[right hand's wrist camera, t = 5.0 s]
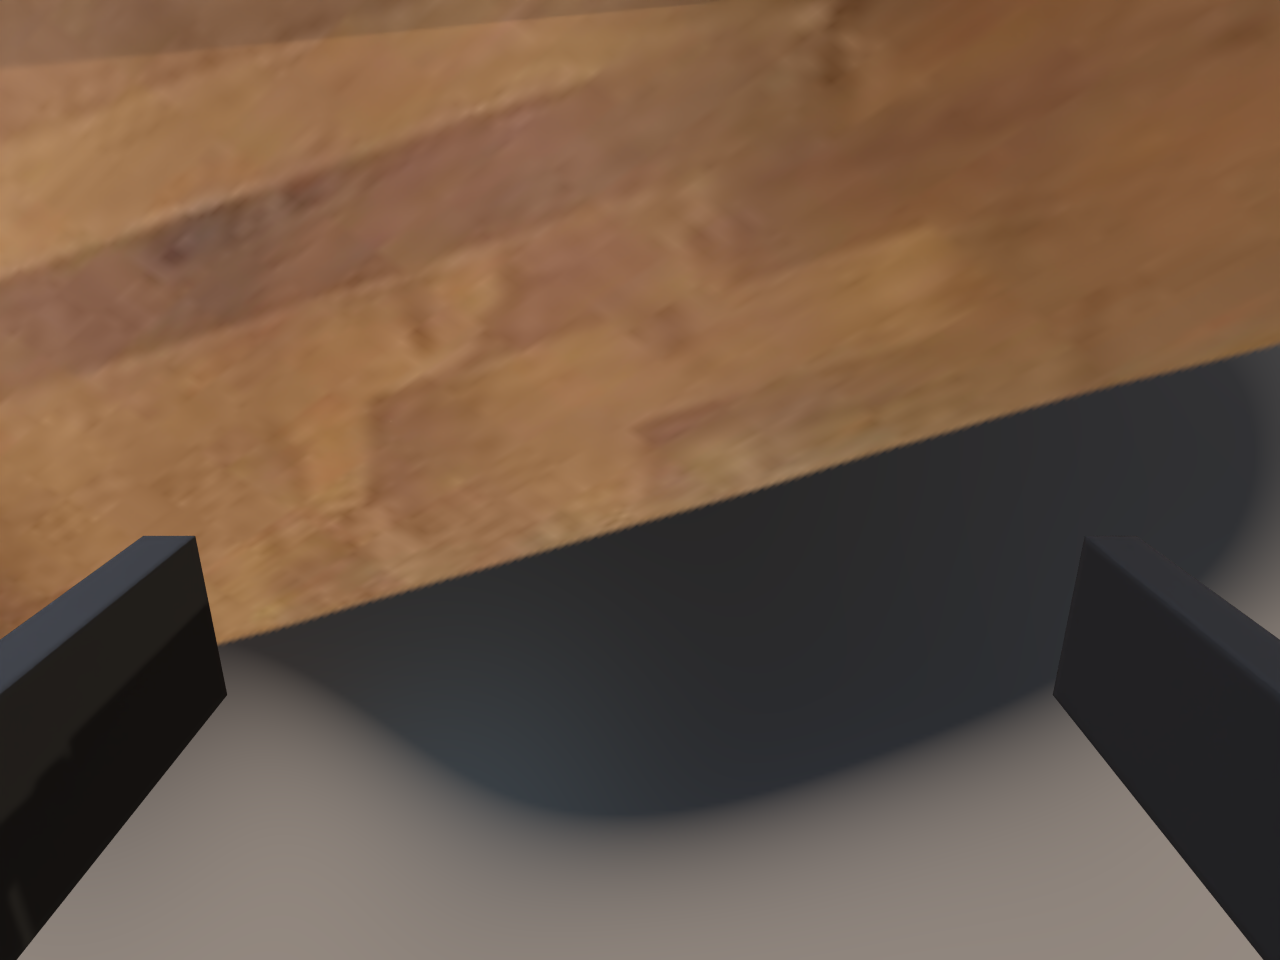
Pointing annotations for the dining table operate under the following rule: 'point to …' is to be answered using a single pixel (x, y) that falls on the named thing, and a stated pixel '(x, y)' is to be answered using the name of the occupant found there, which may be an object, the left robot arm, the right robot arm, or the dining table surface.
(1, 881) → the right robot arm
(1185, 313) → the dining table surface
